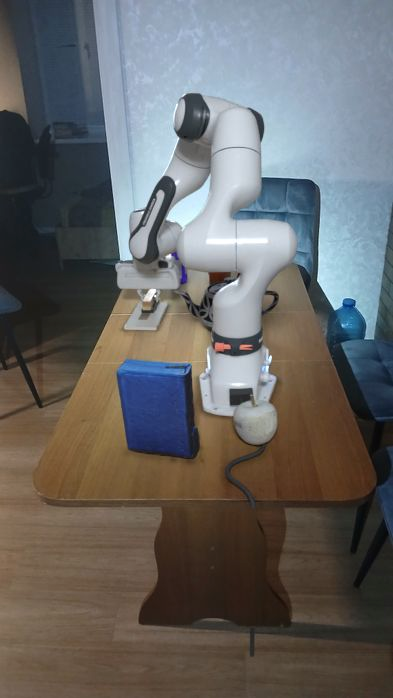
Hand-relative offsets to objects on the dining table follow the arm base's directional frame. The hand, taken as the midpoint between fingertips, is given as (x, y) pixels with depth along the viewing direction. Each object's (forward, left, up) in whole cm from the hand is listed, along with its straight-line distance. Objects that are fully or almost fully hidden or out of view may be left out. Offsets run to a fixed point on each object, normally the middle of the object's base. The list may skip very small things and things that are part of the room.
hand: (150, 301), depth 164 cm
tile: (-6, 0, -3) cm, 6 cm away
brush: (0, 0, -2) cm, 2 cm away
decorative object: (-67, -36, -3) cm, 76 cm away
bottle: (+28, -5, -3) cm, 29 cm away
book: (-72, -18, -3) cm, 74 cm away
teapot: (-12, -26, -3) cm, 29 cm away
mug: (+14, -23, -3) cm, 27 cm away
